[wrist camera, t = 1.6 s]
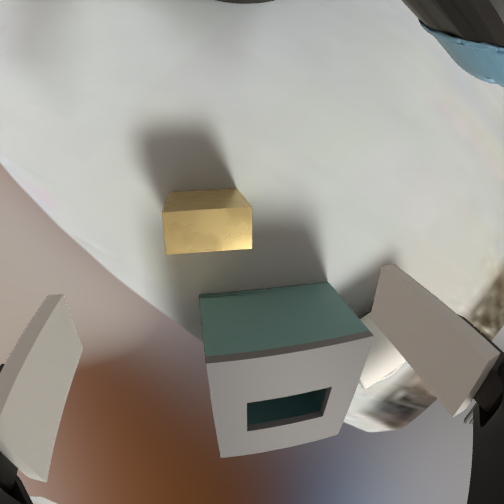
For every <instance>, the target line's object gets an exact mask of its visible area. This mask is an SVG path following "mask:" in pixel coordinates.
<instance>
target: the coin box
mask: <svg viewBox="0 0 504 504" xmlns="http://www.w3.org/2000/svg"><path fill="white" fill-rule="evenodd" d="M199 299H200V310H201V321H202V331H203V341H204V351H205V360H206V368H207V375H208V382H209V389H210V396H211V403H212V409H213V415H214V421H215V427H216V433H217V439H218V445H219V450H220V455H221V458H224V457H232V456H239V455H247V454H254V453H260V452H266V451H271V450H276V449H281V448H286V447H291V446H296V445H300V444H304V443H308V442H312V441H316V440H320V439H323V438H327V437H330V436H334V435H337V434H338V432H339V430H340V428H341V426H342V423H343V421H344V418H345V416H346V414H347V411H348V409H349V406H350V404H351V401H352V399H353V396H354V393H355V391H356V388H357V385H358V382H359V380H360V377H361V374H362V371H363V368H364V365H365V362H366V359H367V356H368V353H369V350H370V347H371V344H372V340H373V337H374V335H373V334H372V333H371V332H370V331H369V329H368V328H367V327H366V326H365V325H364V323H363V322H362V321H361V320H360V319H359V318H358V316H357V315H356V314H355V313H354V312H353V310H352V309H351V308H350V307H349V306H348V305H347V303H346V302H345V301H344V300H343V299H342V298H341V296H340V295H339V294H338V293H337V292H336V291H335V290H334V288H333V287H332V286H331V285H330V284H329V283H328V282H323V283H315V284H306V285H297V286H288V287H279V288H269V289H259V290H249V291H238V292H227V293H215V294H203V295H199Z"/></svg>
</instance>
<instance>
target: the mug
mask: <svg viewBox="0 0 504 504" xmlns="http://www.w3.org/2000/svg"><path fill="white" fill-rule="evenodd" d="M370 315H371V312H370V313H368V314H367V315H365V316H364V317H362V318H361V319H360V320H361V321H362V322H363V323H364V325H365V326H366V327H367V328H368V329H369V331H370V332H371V333H372V334H373V335H374V337H373V340H372V344H371V347H370V350H369V353H368V356H367V359H366V362H365V365H364V368H363V371H362V374H361V377H360V380H359V384H360V385H361V386H362V388H363V389H367V388H368V387H370V386H371V385H373V384H374V383H376V382H377V381H380V380H383V379H385V378H387V377H389V376H391V375H392V374H394V373H395V372H396V371H397V370H398V369H399V368H400V366H401V365H402V364H403V363H404V362H405V361H406V360H405V359H404V357H403V356H402V355H401V354H400V353H399V351H398V350H397V349H396V348H395V347H394V346H393V344H392V343H391V342H390V341H389V340H388V339H387V337H386V336H385V335H384V334H383V333H382V332H381V330H380V329H379V328H378V327H377V326H376V325H375V324H374V322H373V321H372V320H371V319H370Z"/></svg>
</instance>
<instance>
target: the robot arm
mask: <svg viewBox="0 0 504 504" xmlns="http://www.w3.org/2000/svg"><path fill="white" fill-rule="evenodd" d="M217 1H222V2H229V3H244V4H246V3H263V2H269V1H274V0H217ZM402 1H403V2H404V3H405V5H406V6H407V7H408V8H409V9H410V10H411V11H412V12H413V13H414V14H415V15H416V16H417V17H418V20H419V22H420V23H421V26H422V27H423V28H424V29H425V30H426V31H427V32H428V33H430V34H432V35H433V36H434V37H435V38H436V39H437V41H438V42H439V43H440V44H441V45H442V46H443V48H444V49H445V50H446V51H447V53H448V54H449V55H450V56H451V58H452V59H453V60H454V61H455V62H456V63H457V64H458V65H459V66H460V67H461V68H462V69H463V70H465V71H466V72H468V73H469V74H471V75H472V76H474V77H476V78H478V79H480V80H483V81H486V82H488V83H493V84H499V85H500V86H502V87H504V0H402ZM370 319H371V320H372V321H373V322H374V324H375V325H376V326H377V327H378V328H379V329H380V330H381V332H382V333H383V334H384V335H385V336H386V337H387V339H388V340H389V341H390V342H391V343H392V344H393V346H394V347H395V348H396V349H397V350H398V351H399V353H400V354H401V355H402V356H403V357H404V359H405V360H406V361H407V362H408V363H409V364H410V366H411V367H412V368H413V369H414V370H415V372H416V373H417V374H418V375H419V377H420V378H421V379H422V380H423V381H424V383H425V384H426V385H427V386H428V388H429V389H430V390H431V391H432V393H433V394H434V395H435V396H436V398H437V399H438V400H439V401H440V403H441V404H442V405H443V406H444V408H445V409H446V410H447V411H448V413H449V414H450V415H451V417H454V416H456V415H457V414H459V413H460V412H462V411H464V410H465V409H466V408H467V406H468V405H469V404H470V402H471V401H472V399H473V398H474V399H475V401H476V404H475V405H474V407H473V408H472V409H471V411H470V412H469V413H468V415H467V416H466V417H465V420H464V423H467V421H468V420H469V419H470V417H471V416H472V415H473V418H472V419H471V421H470V423H469V424H473V455H472V468H471V479H470V487H469V494H468V501H467V504H504V352H502V351H501V350H500V349H499V348H498V347H497V346H496V345H495V344H494V343H493V342H492V341H490V340H489V339H488V338H487V337H486V336H485V335H484V334H483V333H480V331H479V330H478V329H477V328H476V327H473V325H472V324H471V323H470V322H469V321H468V320H467V319H465V318H464V317H462V316H460V315H458V314H456V313H455V312H454V311H453V310H452V309H450V308H449V307H448V306H447V305H446V304H444V303H443V302H442V301H441V300H439V299H438V298H437V297H436V296H435V295H433V294H432V293H431V292H430V291H428V290H427V289H426V288H425V287H423V286H422V285H421V284H420V283H418V282H417V281H416V280H414V279H413V278H412V277H411V276H409V275H408V274H407V273H405V272H404V271H403V270H401V269H400V268H399V267H397V266H396V265H395V264H392V265H384V266H381V269H380V274H379V279H378V284H377V289H376V293H375V298H374V302H373V306H372V311H371V315H370ZM82 351H83V347H82V344H81V342H80V340H79V337H78V334H77V332H76V329H75V326H74V324H73V321H72V318H71V315H70V313H69V310H68V307H67V304H66V301H65V298H64V295H63V294H58V295H48V296H47V297H46V299H45V300H44V302H43V303H42V305H41V306H40V308H39V309H38V311H37V312H36V314H35V315H34V317H33V318H32V320H31V321H30V323H29V324H28V326H27V328H26V329H25V331H24V332H23V334H22V335H21V337H20V339H19V340H18V342H17V344H16V346H15V347H14V349H13V351H12V353H11V354H10V356H9V358H8V359H7V361H6V363H5V364H1V366H0V504H33V503H32V501H31V499H30V497H29V495H28V493H27V491H26V489H25V487H24V485H23V483H22V481H21V480H20V478H19V477H18V476H17V470H18V469H19V470H20V471H21V472H22V473H24V474H25V475H26V476H27V477H29V478H32V479H36V480H40V481H43V482H47V477H48V472H49V467H50V462H51V456H52V452H53V447H54V443H55V439H56V435H57V431H58V427H59V423H60V419H61V416H62V412H63V408H64V405H65V402H66V398H67V395H68V392H69V388H70V386H71V382H72V379H73V376H74V373H75V370H76V367H77V365H78V362H79V359H80V356H81V353H82Z"/></svg>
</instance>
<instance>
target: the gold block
mask: <svg viewBox="0 0 504 504" xmlns="http://www.w3.org/2000/svg"><path fill="white" fill-rule="evenodd" d="M162 217H163V228H164V238H165V247H166V255H170V254H183V253H197V252H211V251H226V250H240V249H252V206H251V205H250V204H249V203H248V201H247V200H246V199H245V198H244V196H243V195H242V194H241V193H240V192H239V190H238V189H215V190H197V191H181V192H170V193H169V195H168V198H167V201H166V203H165V206H164V209H163V212H162Z"/></svg>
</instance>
